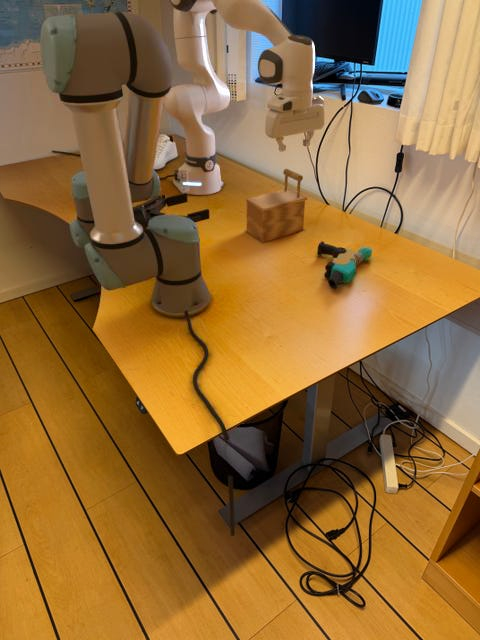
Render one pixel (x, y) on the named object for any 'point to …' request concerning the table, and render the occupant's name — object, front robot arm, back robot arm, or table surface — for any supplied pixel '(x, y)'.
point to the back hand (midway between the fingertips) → (294, 148)
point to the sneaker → (165, 150)
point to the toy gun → (342, 263)
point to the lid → (279, 195)
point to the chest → (275, 221)
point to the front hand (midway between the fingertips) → (197, 205)
